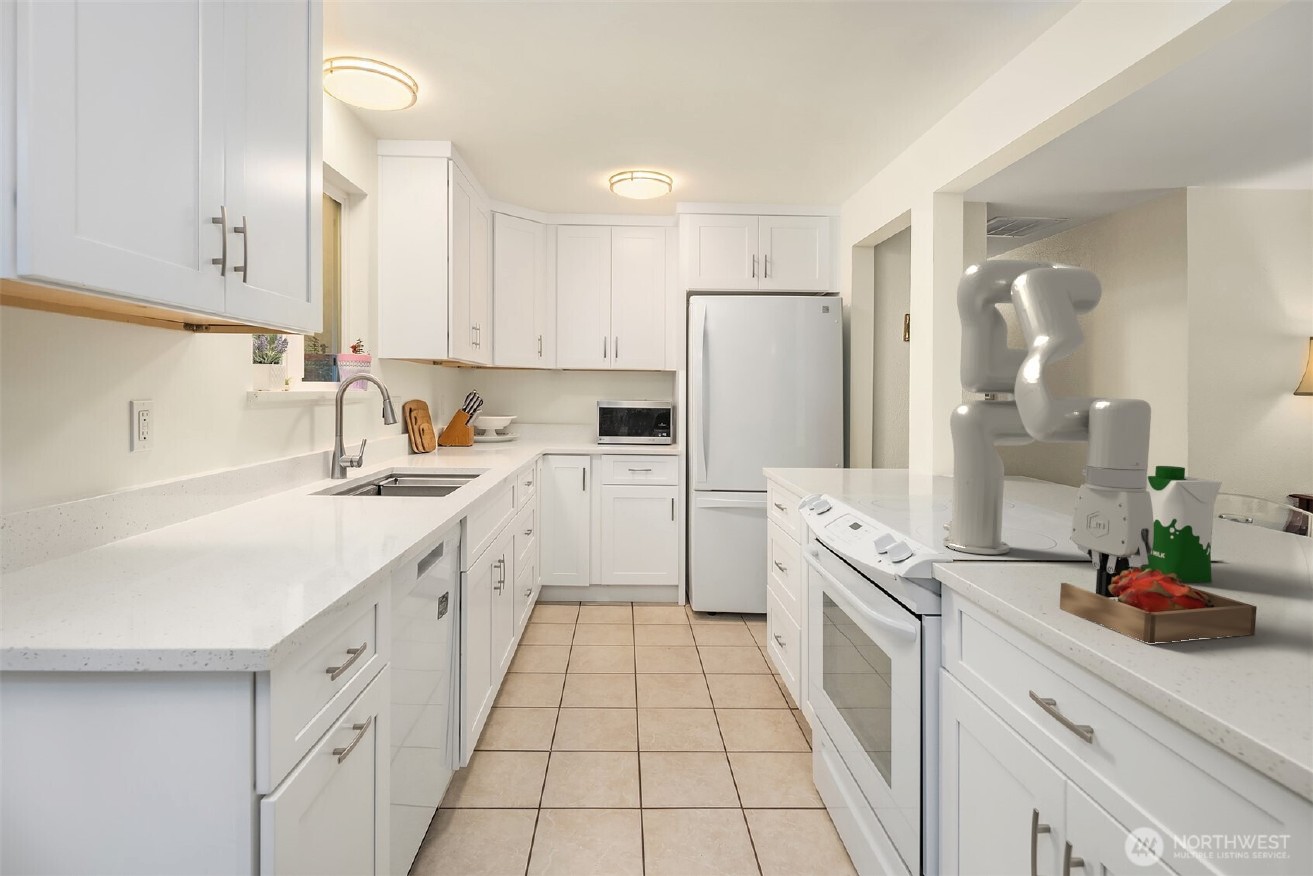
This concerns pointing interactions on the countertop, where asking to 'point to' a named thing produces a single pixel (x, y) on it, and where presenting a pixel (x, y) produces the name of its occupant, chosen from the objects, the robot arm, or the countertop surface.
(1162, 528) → the milk carton
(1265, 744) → the countertop surface
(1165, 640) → the tray
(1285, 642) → the countertop surface
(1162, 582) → the dragon fruit
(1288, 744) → the countertop surface
